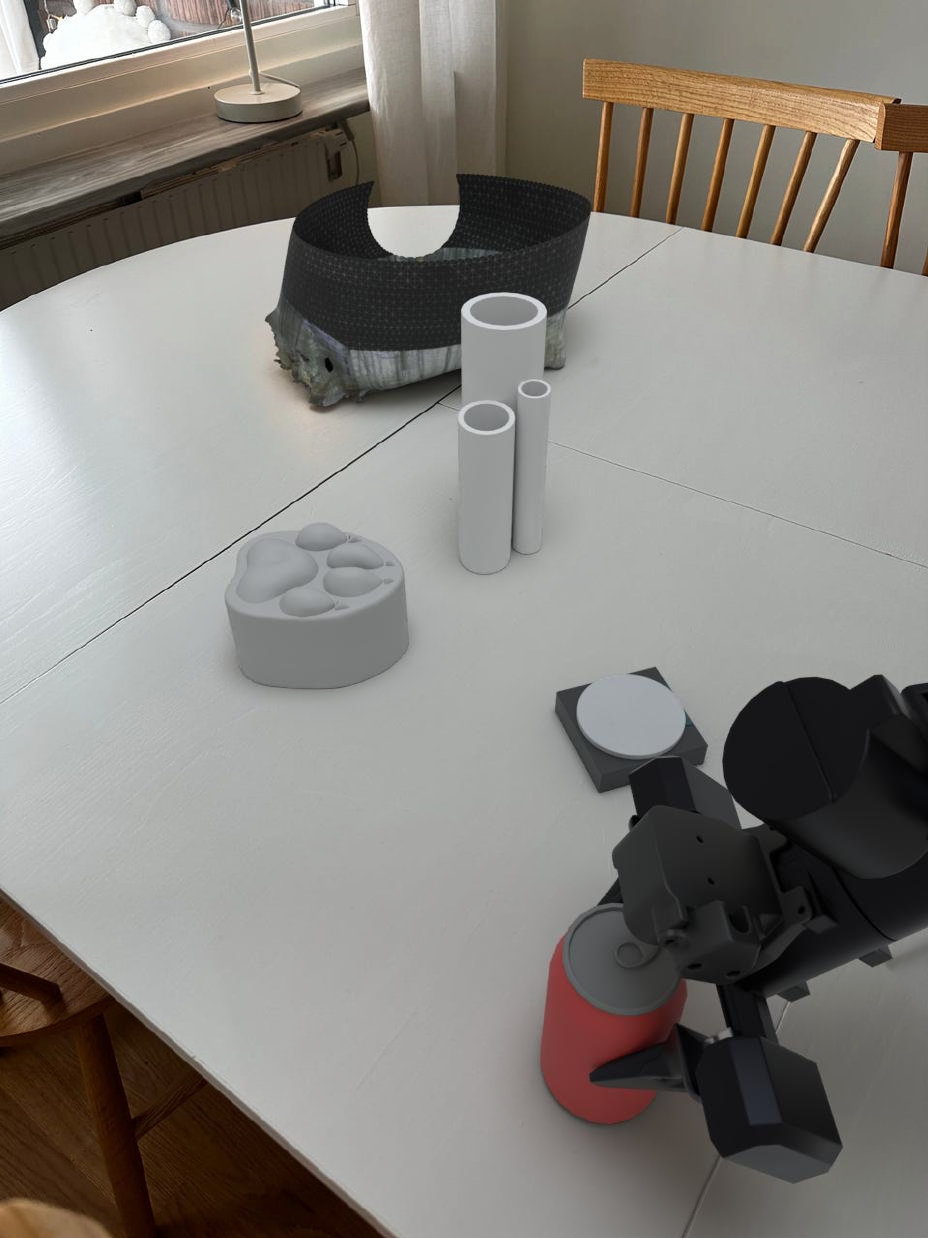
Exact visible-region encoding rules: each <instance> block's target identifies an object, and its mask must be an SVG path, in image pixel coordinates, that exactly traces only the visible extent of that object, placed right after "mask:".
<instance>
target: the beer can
mask: <svg viewBox="0 0 928 1238" xmlns="http://www.w3.org/2000/svg"><path fill="white" fill-rule="evenodd" d="M622 907H623V904H621V903H609V904H604V905H599V906H596V905H595V906H593V907H591V908H590V909H587V910H586V911H584V912H582V913H581V914H579V915H578V916H577V918H575V920H574V921H573V922H572V923H571V924H570V925H569V927H568V929H567V931H565V933H564V934H563V936H562V937H560V939H559V941H558V943H557V944H556V945H555V948H554V950H553V954H552V957H551V959H550V962H549V967H548V977H547V987H546V994H545V1004H544V1012H543V1013H544V1014H543V1023H542V1032H541V1039H540V1040H541V1041H540V1059H539V1060H540V1061H539V1063H540V1069H541V1072H542V1075H543V1078H544V1083H545V1085H546V1086H547V1087H548V1089H549V1091H550V1092H551V1094H552V1095H553V1097H554V1099H555V1100H556V1101H557V1102H558V1103H559V1104H560V1105H562V1106H563V1107H564V1108H565V1109H566V1110H567V1111H569V1112H570V1113H571V1114H572V1115H575V1116H576V1117H579V1118H581V1119H584V1120H586V1121H588V1122H590V1123H597V1124H598V1123H601V1124H609V1125H612V1124H616V1123H620V1122H621V1123H622V1122H624V1121H625V1122H626V1121H628V1120H629V1121H630V1120H632V1119H633V1118H635V1117H636V1116H637V1115H639V1114H640V1113H642V1112H643V1111H645V1110H646V1109H647V1108H648V1106H649V1105H650V1104H651V1103H652V1101H653V1100H654V1098H655V1097H656V1096H657V1094H658V1091H655V1090H638V1089H621V1088H605V1087H600V1086H597V1085H595V1084H592V1083H590V1081H589V1073H590V1072H592V1071H594V1070H595V1069H597V1068H599V1067H600V1066H602V1065H604V1064H606V1063H607V1062H610V1061H612V1060H615V1059H618V1058H620V1057H623V1056H626V1055H628V1054H631V1053H634V1052H636V1051H639V1050H642V1049H644V1048H647V1047H650V1046H652V1045H655V1044H658V1043H661V1042H663V1041H665V1040H666V1039H667V1038H668V1036H669V1034H670V1031H671V1029H672V1027H673V1025H674V1024H675V1023H679V1024H681V1020H682V1016H683V1013H684V1009H685V1006H686V1002H687V998H688V986H687V985H688V984H687V979H684V978H681V977H679V976H678V975H677V974H676V971H675V967H674V963H673V959H672V956H671V954H670V952H669V951H668V950H667V949H665V948H662V947H660V946H659V945H658V946H656V945H650V944H647V943H644V942H642V941H640V940H638V939H637V938H636V937H635V936H634V935H633V934H632V933H631V932H630V931H629V929H628V928H627V926H626V924H625V921H624V917H623V912H622Z"/></svg>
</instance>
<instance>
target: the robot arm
mask: <svg viewBox="0 0 928 1238" xmlns="http://www.w3.org/2000/svg"><path fill="white" fill-rule="evenodd" d="M728 730H729V731H728V733H727V736H726V738H725V741H724V744H723V752H722V759H721V762H722V764H721V765H722V774H723V775H722V776H723V781H724V784H725V786H723V785H722V784H721V783H719V782H718V781H716V780H715V779H714V778H712V777H711V776H709V774H707V773H705V772H704V771H702V770H700V768H698V767H697V766H693V765H692V764H691V763H689V762H688V761H686V760H685V759H683V758H682V757H679V756H657V757H655V758H653V759H652V760H650V761H648V762H647V763H645V764H643V765H642V766H640V767H639V768H637V769H635V770H634V771H632V772H631V773H630V774H629V775H628V778H629V782H630V784H629V787H630V791H631V796H632V800H633V803H634V808H635V813H636V814H632V815H631V816H630V818H629V820H628V825H627V826H628V833H626V835H625V836H624V837H623V838H622V839H621V840H619V842H618V843H617V844H616V845H615V846H614V847H613V849H612V851H611V861H612V866H613V868H614V869H615V870H616V872H617V878H616V879H615V881H614V882H613V884H612V885H610V887H609V889H607V890H608V891H606V893H605V894H604V895H603V896H602V898H601V899H600V900H599V902H598V903H597V904H596V905H595V906H599V905H604V904H609V903H621V904H623V907H622V912H623V917H624V921H625V924H626V926H627V928H628V929H629V931H630V932H631V933H632V934H633V935H634V936H635V937H636V938H637V939H638V940H640V941H642V942H644V943H647V944H650V945H656V946H658V945H659V946H660V947H662V948H665V949H667V950H668V951H669V952H670V954H671V956H672V959H673V963H674V967H675V971H676V974H677V975H678V976H679V977H681V978H684V979H686V980H690V981H696V982H702V983H706V984H713V985H715V988H716V993H717V995H718V999H719V1004H720V1006H721V1011H722V1015H723V1019H724V1023H725V1026H726V1028H724V1029H722V1030H720V1031H717V1032H716V1034H714V1035H711V1036H708V1035H705V1034H703V1033H701V1032H700V1031H699V1032H698V1031H696V1030H694V1029H692V1028H690V1027H687V1026H686V1025H683V1024H681V1023H675V1024H674V1025H673V1027H672V1029H671V1031H670V1034H669V1036H668V1038H667V1039H666V1040H665V1041H663V1042H661V1043H658V1044H655V1045H652V1046H650V1047H647V1048H644V1049H642V1050H639V1051H636V1052H634V1053H631V1054H628V1055H626V1056H623V1057H620V1058H618V1059H615V1060H612V1061H610V1062H607V1063H606V1064H604V1065H602V1066H600V1067H599V1068H597V1069H595V1070H594V1071H592V1072H590V1073H589V1081H590V1083H592V1084H595V1085H597V1086H600V1087H605V1088H621V1089H638V1090H655V1091H659V1092H673V1093H674V1092H675V1093H687V1094H688V1095H689V1097H690V1098H691V1099H692V1100H693V1101H695V1102H696V1103H698V1104H701V1105H702V1109H703V1114H704V1118H705V1123H706V1128H707V1133H708V1136H709V1140H710V1141H711V1144H712V1145H713V1147H714V1148H715V1149H716V1151H717V1153H718V1155H719V1156H720V1157H721V1159H723V1160H725V1161H728V1162H731V1163H734V1164H737V1165H739V1166H742V1167H745V1168H748V1169H751V1170H753V1171H757V1172H758V1173H761V1174H765V1175H768V1176H770V1177H774V1178H776V1179H778V1180H782V1181H784V1182H787V1183H789V1184H792V1185H794V1184H795V1185H796V1184H797V1183H800V1182H803V1181H807V1180H809V1179H812V1178H815V1177H818V1176H822V1175H825V1174H827V1173H828V1172H829V1171H830V1170H831V1169H832V1167H833V1165H834V1164H835V1163H836V1160H837V1159H838V1157H839V1156H840V1153H841V1152H842V1150H843V1148H844V1146H843V1142H842V1139H841V1136H840V1133H839V1130H838V1127H837V1124H836V1120H835V1118H834V1114H833V1111H832V1108H831V1104H830V1102H829V1098H828V1095H827V1092H826V1089H825V1085H824V1083H823V1080H822V1076H821V1073H820V1070H819V1067H818V1064H817V1062H816V1061H814V1060H812V1059H810V1058H808V1057H805V1056H803V1055H801V1054H799V1053H797V1052H795V1051H793V1050H792V1049H789V1048H787V1047H785V1046H783V1045H781V1043H780V1042H779V1038H778V1034H777V1032H776V1029H775V1025H774V1021H773V1018H772V1015H771V1011H770V1008H769V1004H768V1001H767V999H769V998H772V997H774V996H778V997H780V998H782V999H784V1000H785V1001H787V1002H789V1003H794V1002H796V1001H799V1000H801V999H803V998H806V997H808V996H811V992H810V988H809V985H808V983H807V982H809V981H810V980H812V979H815V978H817V977H819V976H821V975H823V974H826V973H829V972H831V971H833V970H836V969H837V968H839V967H842V966H844V965H846V964H848V963H851V962H852V961H855V960H857V959H858V960H859V961H860V962H862V963H863V964H865V965H868V966H869V967H871V968H875V967H877V966H880V965H882V964H884V963H887V962H888V961H891V960H894V957H893V955H892V952H891V950H890V947H889V945H891V944H893V943H896V942H898V941H901V940H902V939H904V938H907V937H909V936H912V935H914V934H916V933H919V932H921V931H923V930H925V929H928V681H927V682H922V683H921V682H920V683H914V684H910V685H906V686H905V687H904V688H903V689H901V691H900V690H899V689H898V688H897V687H896V686H895V684H894V683H892V682H891V681H890V680H889V679H888V677H886V676H884V675H883V674H881V673H879V674H873V675H871V676H870V677H868V678H866V679H865V680H863V681H861V682H860V683H858V684H857V685H854V686H852V687H851V688H848V687H847V686H846V685H843V684H841V683H840V682H838V681H835V680H834V679H831V678H826V677H821V676H804V677H803V676H802V677H797V678H794V679H790V680H785V681H783V680H777V681H775V682H773V683H771V684H770V685H768V686H765V687H764V688H763V689H762V690H760V691H759V692H757V694H755V695H754V696H753V697H752V698H750V700H749V701H748V702H747V703H746V704H745V706H744V707H743V708H742V709H741V710H740V711H739V712H738V714H737V715H736V717H735V719H734V721H733V722H732V724H731V726H730V728H729V729H728ZM735 803H737V804H738V805H739V806H740V807H741V808H742V809H744V810H745V811H746V812H747V813H749V814H750V815H752V816H753V817H754V818H756V819H757V820H759V821H761V822H762V823H761V824H760V825H757V826H750V827H745V828H743V827H742V824H741V821H740V818H739V817H740V816H739V814H738V812H737V808H736V805H735Z"/></svg>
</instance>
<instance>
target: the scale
mask: <svg viewBox="0 0 928 1238" xmlns="http://www.w3.org/2000/svg"><path fill="white" fill-rule="evenodd" d="M554 711H555V713H556V715H557V717H558V719H559V720H560V723H561V724H562V726H563V728H564V730H565V732H566V734H567V735H568V737H569V739H570V741H571V743H572V745H573V746H574V748H575V750H576V753H577V754H578V756H579V758H580V759H581V762H582V763H583V765H584V767H585V769H586V771H587V773H588V775H589V776H590V779H591V780H592V782H593V784H594V786H595V788H596V789H597V792H598V793H599V794H600V793H605V792H608V791H611V790H615V789H618V788H621V787H624V786H628V785H629V786H630V782H629V778H628V775H629V774H630V773H631V772H632V771H634V770H635V769H637V768H639V767H640V766H642V765H643V764H645V763H647V762H648V761H650V760H652V759H653V758H655V757H657V756H679V757H682V758H683V759H685V760H686V761H688V762H689V763H691V764H692V765H693V766H695V767H697V766H700V765H702V764H704V763H705V760H706V759H705V758H706V755H707V751H708V747H709V744H708V743H707V741H706V739H705V738H704V737H703V736H702V733H701V732H700V730H698V728H697V726H696V725H695V723H694V722H693V720H692V719H691V717H690V716H689V714H688V712H687V711H686V709H685V708H684V706H683V704H682V702H681V701H680V699H679V698H678V697H677V695H676V694H675V693H674V692H673V690H672V689H671V687H670V686H669V684H668V682H667V681H666V680H665V678H664V676H663V675H662V674H661V672H660V671H659V669H658V668H657V666H652V667H648V668H643V669H640V670H636V671H633V672H629V673H624V674H623V673H621V674H613V675H608V676H604V677H601V678H599V679H597V680H594V681H593V682H589V683H586V684H581V685H577V686H574V687H570V688H566V689H562V690H558V691H556V693H555V705H554Z"/></svg>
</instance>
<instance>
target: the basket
mask: <svg viewBox="0 0 928 1238" xmlns="http://www.w3.org/2000/svg"><path fill="white" fill-rule="evenodd" d="M455 178H456V180H457V184H458V196H459V207H458V214H457V219H456V222H455V225H454V228H453V229H452V232H451V234H450V235H449V237H448V238H447V240H446V241H445V242H444V243H443V244H442V245H441V246H440V247H439V248H438V249H436V250H434V251H433V252H431V253H427V254H425V255H423V256H422V255H421V256H407V257H406V256H403V255H398V254H394V253H393V252H391V251H389V250H387V249H385V248H384V247H383V246H382V245H381V244H380V243H379V242H378V241H377V238H375V236H374V234H373V232H372V229H371V226H370V222H369V212H368V211H369V209H368V208H369V202H370V196H371V194H372V192H373V186H374V185H375V180H370V181H367V182H362V183H357V184H354V185H352V186H348V187H344V188H342V189H339V190H336V191H333V192H331V193H329V194H326V195H325V196H323V197H320V198H319V199H317V200H314V202H312V203H309V204H308V205H307V206H306V207H304V208H303V209H302V210H301V211H300V212H299V213H297V215H296V217H295V218H294V220H293V223H292V226H291V230H290V234H289V238H288V239H289V240H288V245H287V251H286V256H285V263H284V269H283V276H282V281H281V282H282V283H281V286H280V292H279V297H278V301H277V305H276V307H275V308H274V309H273V310H272V311H271V312H270V313H269V314H267V315H266V316H265V318H264V322H266V323H267V324H268V325H269V326H270V328H271V329H270V331H271V332H272V333H273V340H274V342H275V343H274V346H275V347H276V348H277V349H278V351H277V352H276V353H275V357H277V358H275V359H273V362H275V363H278V364H279V367H280V369H282V370H283V371H284V370H285V371H291V377H292V379H294V380H292V381H291V384H299V383H300V385H302V386H303V387H304V388H305V389H310V394H309V397H308V400H307V403H308V404H311V405H313V406H318V407H322V408H325V407H328V406H330V405H335V404H337V403H338V402H339V401H341V400H342V399H343V397H345V398H350V396H352V397H353V398H354V400H355V401H357V402H358V403H361V402H362V400H363V397H365V396H366V394H367V393H373V392H377V393H378V392H382V391H387V390H392V389H397V388H400V387H402V386H405V385H406V386H407V385H408V384H409V385H410V384H415V383H418V382H421V381H425V380H427V379H431V378H434V377H438V376H440V375H443V374H446V373H450V372H452V371H453V372H454V371H456V370H459V369H462V349H461V309H462V307H463V305H464V304H465V303H466V302H468V301H469V300H470V299H473V298H475V297H478V296H480V295H485V294H490V293H516V294H521V295H526V296H530V297H532V298H534V299H536V300H539V301H540V302H541V303H542V304H543V305H545V308H546V310H547V319H546V337H545V355H544V368H551V369H555V370H557V369H561V367H563V366H564V365H565V364H566V361H567V356H566V349H565V341H564V328H565V323H566V319H567V315H568V310H569V306H570V301H571V298H572V294H573V290H574V286H575V283H576V278H577V276H578V271H579V268H580V264H581V260H582V256H583V252H584V247H585V243H586V237H587V234H588V230H589V225H590V219H591V214H592V210H593V209H592V208H593V207H592V204H591V203H592V202H590V200H589V199H588V198H586V197H585V196H583V195H582V194H579V192H576V191H572V190H571V189H568V188H563V187H559V186H555V185H551V184H546V183H542V182H537V181H533V180H529V179H523V178H522V179H521V178H516V177H513V178H512V177H510V176H509V177H507V176H498V175H492V174H491V175H488V174H486V175H485V174H479V173H478V174H475V173H461V174H460V173H456V174H455ZM278 358H279V359H278Z"/></svg>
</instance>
